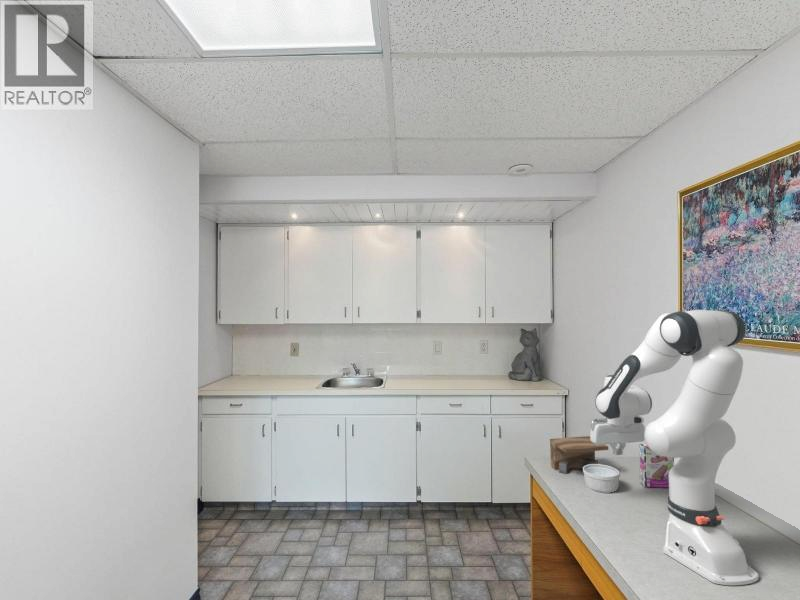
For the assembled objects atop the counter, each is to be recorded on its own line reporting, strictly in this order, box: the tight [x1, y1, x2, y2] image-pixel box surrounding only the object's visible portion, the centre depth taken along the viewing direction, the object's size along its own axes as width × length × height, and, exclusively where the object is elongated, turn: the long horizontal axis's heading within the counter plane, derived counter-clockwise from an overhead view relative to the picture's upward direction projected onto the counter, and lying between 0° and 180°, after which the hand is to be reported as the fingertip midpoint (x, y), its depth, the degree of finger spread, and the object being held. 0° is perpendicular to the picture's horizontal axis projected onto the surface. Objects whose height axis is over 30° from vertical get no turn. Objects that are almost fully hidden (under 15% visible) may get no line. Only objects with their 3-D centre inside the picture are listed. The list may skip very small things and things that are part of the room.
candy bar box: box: [638, 442, 675, 489], centre depth 163 cm, size 11×5×16 cm, turn 84°
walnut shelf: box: [549, 435, 609, 475], centre depth 179 cm, size 14×19×12 cm
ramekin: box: [582, 463, 620, 494], centre depth 163 cm, size 13×13×7 cm
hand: (618, 454), depth 152 cm, fingers closed
